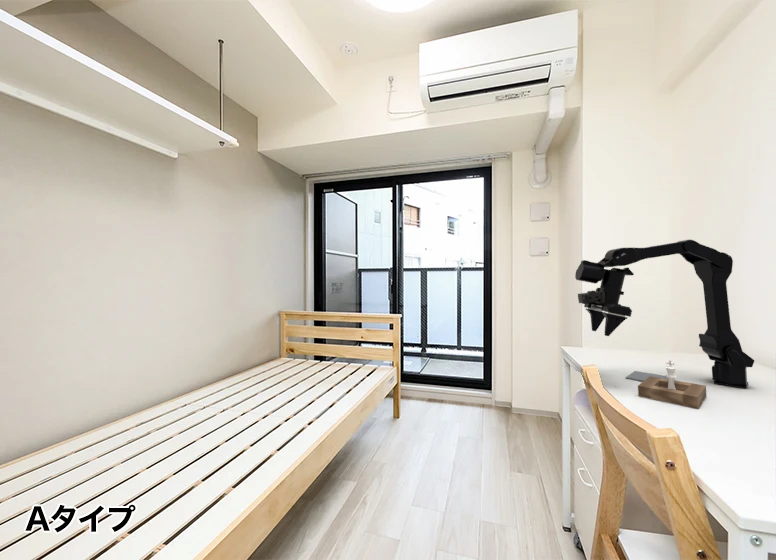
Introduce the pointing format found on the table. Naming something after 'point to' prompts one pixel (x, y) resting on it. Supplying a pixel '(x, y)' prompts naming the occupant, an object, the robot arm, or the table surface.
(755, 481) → the table surface
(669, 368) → the chess piece
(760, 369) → the table surface
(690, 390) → the socket block
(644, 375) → the slate mat
